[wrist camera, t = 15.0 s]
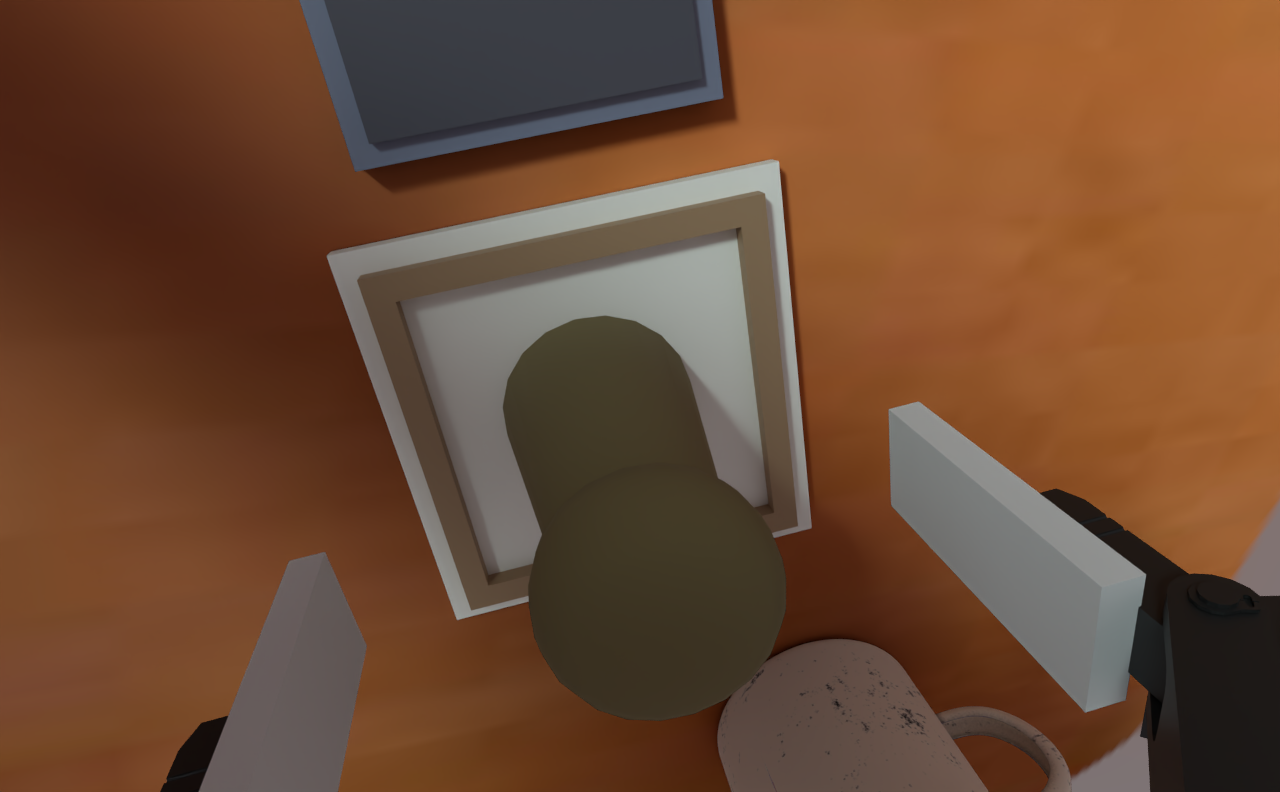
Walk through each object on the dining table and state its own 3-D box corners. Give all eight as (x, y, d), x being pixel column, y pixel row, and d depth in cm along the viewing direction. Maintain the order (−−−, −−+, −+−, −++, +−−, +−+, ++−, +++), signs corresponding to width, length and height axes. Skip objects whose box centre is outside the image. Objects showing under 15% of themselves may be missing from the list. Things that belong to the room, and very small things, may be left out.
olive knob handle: (721, 351, 23) (890, 553, 13) (649, 509, 25) (749, 789, 15) (541, 287, 21) (580, 467, 12) (476, 462, 23) (462, 748, 13)
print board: (330, 251, 21) (321, 261, 20) (771, 159, 22) (786, 163, 21) (457, 608, 26) (456, 631, 25) (805, 519, 27) (818, 537, 26)
